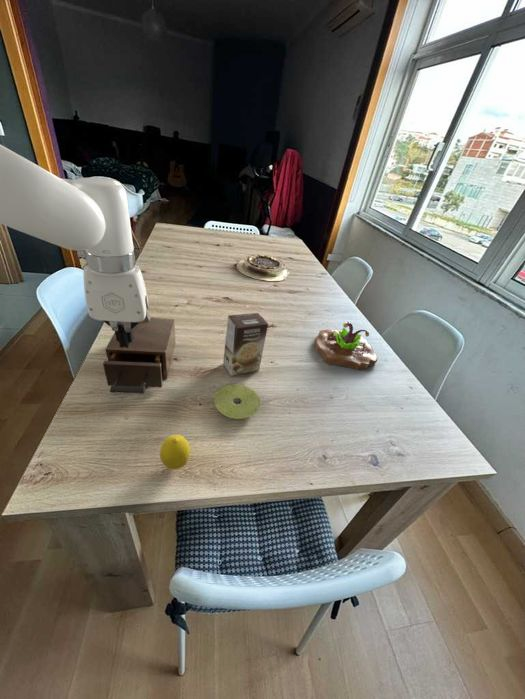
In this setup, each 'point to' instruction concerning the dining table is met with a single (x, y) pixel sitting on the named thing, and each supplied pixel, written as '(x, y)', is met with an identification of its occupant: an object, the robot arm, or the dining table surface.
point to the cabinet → (149, 341)
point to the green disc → (237, 401)
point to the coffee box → (244, 343)
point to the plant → (345, 348)
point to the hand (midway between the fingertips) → (126, 343)
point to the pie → (263, 267)
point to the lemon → (175, 452)
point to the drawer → (133, 372)
